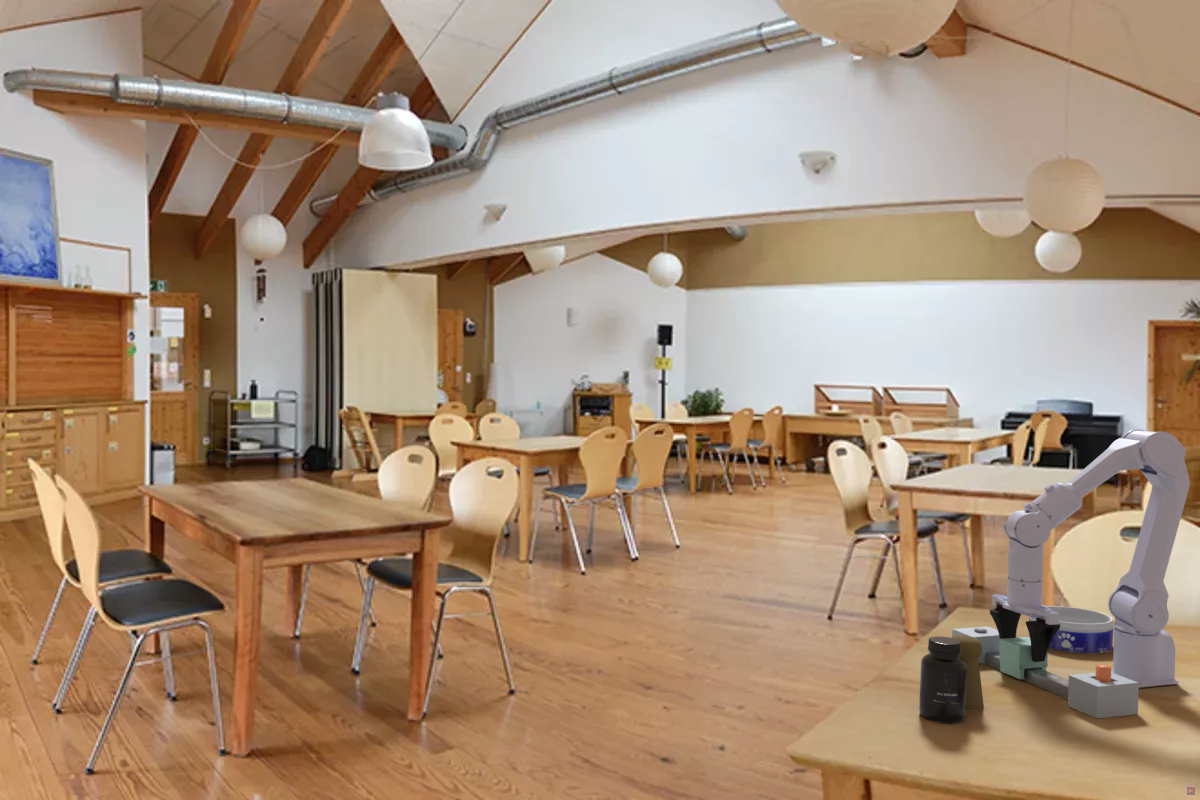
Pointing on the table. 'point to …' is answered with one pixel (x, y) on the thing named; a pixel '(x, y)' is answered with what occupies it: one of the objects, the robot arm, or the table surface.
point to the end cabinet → (1103, 695)
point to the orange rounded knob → (1103, 673)
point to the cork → (972, 671)
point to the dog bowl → (1082, 630)
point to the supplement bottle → (943, 681)
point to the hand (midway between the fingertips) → (1023, 655)
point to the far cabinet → (982, 639)
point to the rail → (1036, 676)
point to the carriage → (1018, 657)
